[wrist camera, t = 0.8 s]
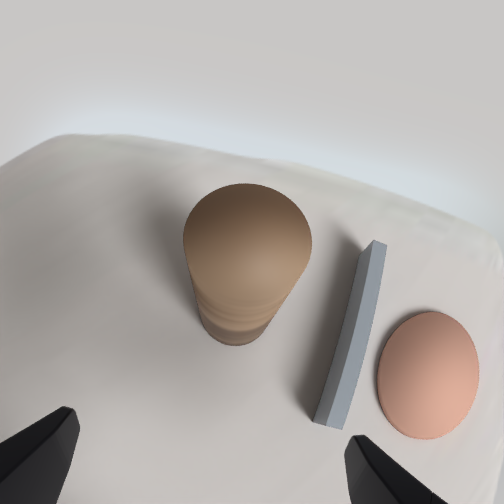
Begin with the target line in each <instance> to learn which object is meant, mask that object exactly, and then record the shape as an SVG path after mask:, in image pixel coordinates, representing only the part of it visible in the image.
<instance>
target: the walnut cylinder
mask: <svg viewBox="0 0 504 504" xmlns="http://www.w3.org/2000/svg"><path fill="white" fill-rule="evenodd" d="M183 244H184V250H185V255H186V259H187V263H188V268H189V272H190V276H191V280H192V284H193V288H194V292H195V296H196V300H197V304H198V308H199V312H200V316H201V319H202V323H203V325H204V327H205V329H206V331H207V332H208V333H209V334H210V336H212V337H213V338H214V339H215V340H217V341H218V342H221V343H223V344H226V345H231V346H240V345H245V344H248V343H250V342H252V341H254V340H255V339H257V338H258V337H259V336H260V335H261V334H262V333H263V331H264V330H265V328H266V327H267V326H268V324H269V323H270V321H271V320H272V318H273V317H274V315H275V314H276V312H277V311H278V309H279V308H280V306H281V305H282V303H283V302H284V301H285V299H286V298H287V296H288V295H289V293H290V292H291V290H292V289H293V287H294V285H295V284H296V282H297V281H298V279H299V278H300V276H301V275H302V273H303V272H304V270H305V268H306V267H307V264H308V262H309V259H310V255H311V250H312V237H311V232H310V228H309V225H308V222H307V220H306V218H305V216H304V215H303V213H302V212H301V210H300V209H299V208H298V207H297V206H296V204H295V203H293V202H292V201H291V200H290V199H289V198H287V197H286V196H285V195H283V194H281V193H280V192H278V191H276V190H274V189H271V188H269V187H265V186H262V185H257V184H234V185H229V186H225V187H222V188H219V189H217V190H215V191H213V192H211V193H209V194H208V195H206V196H205V197H204V198H203V199H201V200H200V201H199V202H198V203H197V205H196V206H195V207H194V208H193V210H192V211H191V213H190V214H189V217H188V219H187V221H186V224H185V228H184V234H183Z"/></svg>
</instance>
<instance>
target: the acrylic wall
mask: <svg viewBox="0 0 504 504" xmlns="http://www.w3.org/2000/svg"><path fill="white" fill-rule="evenodd" d="M386 249H387V245H385V244H383V243H380V242H378V241H376V240H373V241H372V242H371V243H370V244H369V246H368V247H367V248H366V249H365V250H364V251H363V252H362V253H361V254H360V255H359V259H358V264H357V268H356V273H355V277H354V282H353V286H352V290H351V294H350V298H349V302H348V306H347V310H346V314H345V318H344V322H343V326H342V329H341V333H340V337H339V340H338V344H337V347H336V351H335V354H334V357H333V361H332V364H331V368H330V371H329V374H328V377H327V380H326V384H325V387H324V390H323V393H322V396H321V399H320V402H319V405H318V408H317V411H316V414H315V416H314V419H313V422H314V423H318V424H321V425H325V426H329V427H333V428H337V429H341V430H342V429H343V426H344V423H345V420H346V417H347V414H348V411H349V408H350V404H351V401H352V398H353V395H354V391H355V388H356V385H357V381H358V378H359V374H360V370H361V367H362V363H363V359H364V356H365V352H366V348H367V344H368V340H369V335H370V331H371V327H372V323H373V318H374V314H375V309H376V304H377V299H378V294H379V289H380V284H381V278H382V273H383V267H384V261H385V255H386Z"/></svg>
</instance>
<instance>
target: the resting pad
mask: <svg viewBox="0 0 504 504" xmlns="http://www.w3.org/2000/svg"><path fill="white" fill-rule="evenodd" d="M478 383H479V362H478V356H477V352H476V349H475V346H474V343H473V341H472V339H471V337H470V335H469V334H468V332H467V331H466V330H465V328H464V327H463V326H462V325H461V324H460V323H459V322H458V321H456V320H455V319H453V318H452V317H450V316H448V315H446V314H442V313H437V312H426V313H422V314H419V315H416V316H414V317H412V318H410V319H408V320H407V321H405V322H404V323H402V324H401V325H400V326H399V327H398V328H397V329H396V330H395V331H394V332H393V334H392V335H391V336H390V338H389V339H388V341H387V343H386V345H385V347H384V349H383V352H382V355H381V358H380V361H379V366H378V374H377V389H378V396H379V400H380V404H381V407H382V409H383V412H384V414H385V416H386V417H387V419H388V420H389V422H390V423H391V424H392V426H394V427H395V428H396V429H397V430H398V431H399V432H401V433H402V434H404V435H406V436H408V437H411V438H416V439H426V440H427V439H435V438H438V437H441V436H443V435H445V434H447V433H449V432H450V431H452V430H453V429H454V428H455V427H457V426H458V425H459V424H460V423H461V422H462V420H463V419H464V418H465V416H466V415H467V414H468V412H469V410H470V408H471V406H472V404H473V402H474V399H475V396H476V393H477V388H478Z"/></svg>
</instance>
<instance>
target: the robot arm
mask: <svg viewBox="0 0 504 504" xmlns="http://www.w3.org/2000/svg"><path fill="white" fill-rule="evenodd" d="M79 432H80V424H79V421H78V418H77V415H76V412H75V410H74V409H72V408H69V407H66V406H62V407H60V408H59V409H57V410H55V411H54V412H52V413H50V414H49V415H47V416H45V417H44V418H42V419H40V420H39V421H37V422H35V423H34V424H32V425H30V426H29V427H27V428H25V429H24V430H22V431H20V432H19V433H17V434H15V435H13V436H12V437H10V438H8V439H7V440H5V441H3V442H1V443H0V504H56V503H57V500H58V497H59V495H60V492H61V489H62V487H63V484H64V481H65V479H66V476H67V474H68V471H69V468H70V465H71V462H72V458H73V454H74V450H75V446H76V443H77V439H78V436H79ZM344 458H345V465H346V473H347V482H348V490H349V495H350V500H351V504H448V503H447V502H445V501H444V500H443V499H441V498H440V497H439V496H437V495H436V494H435V493H432V491H431V490H430V489H428V488H427V487H426V486H425V485H423V484H422V483H421V482H420V481H418V480H417V479H416V478H415V477H414V476H412V475H411V474H410V473H409V472H407V471H406V470H405V469H404V468H403V467H401V466H400V465H399V464H398V463H397V462H396V461H394V460H393V459H392V458H391V457H390V456H388V455H387V454H386V453H385V452H384V451H383V450H381V449H380V448H379V447H378V446H377V445H376V444H375V443H373V442H372V441H371V440H370V439H369V438H368V437H367V436H365V435H354V436H352V437H351V439H350V441H349V443H348V445H347V447H346V450H345V453H344Z"/></svg>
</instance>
